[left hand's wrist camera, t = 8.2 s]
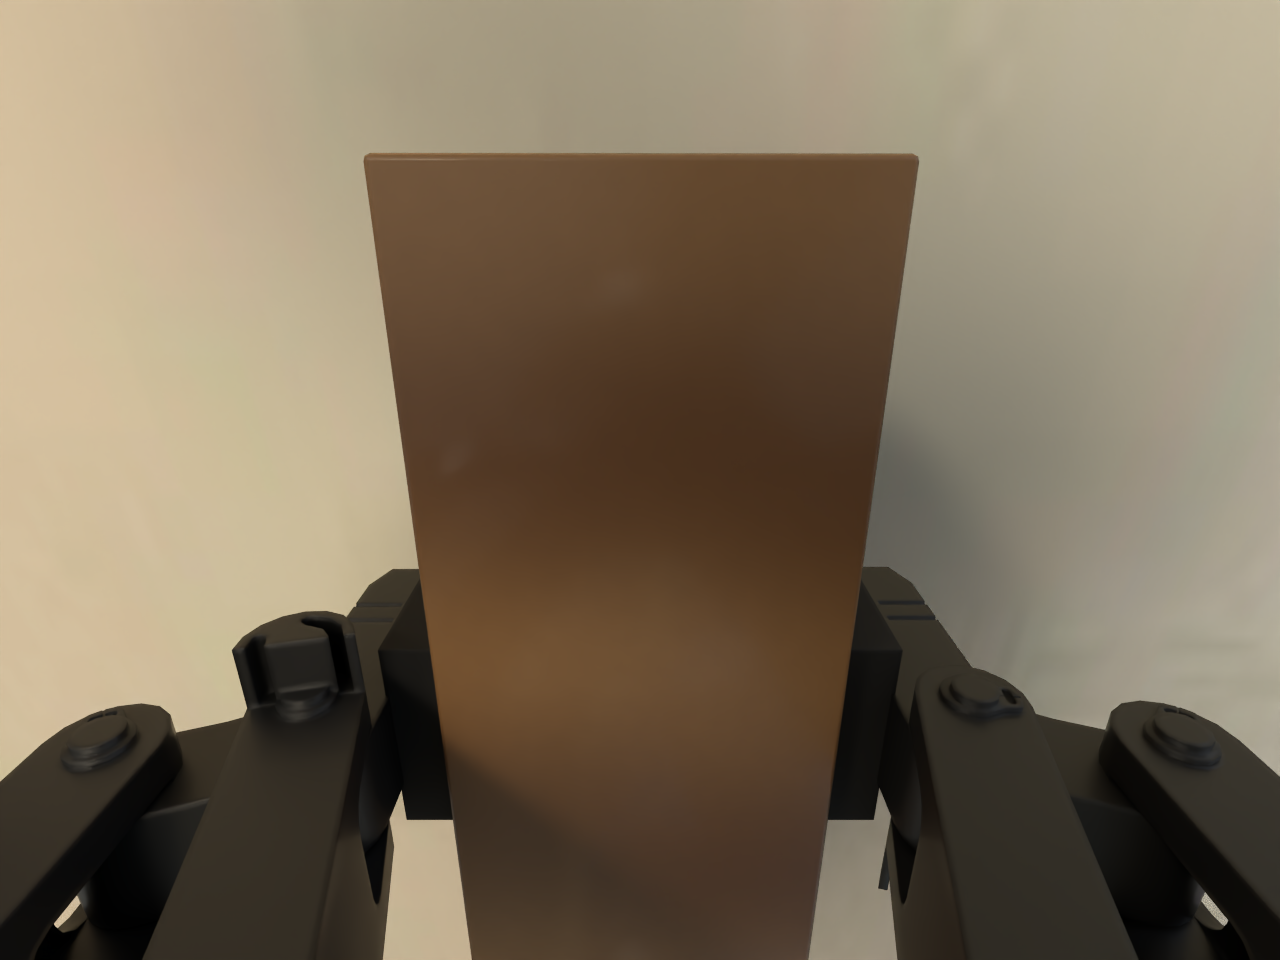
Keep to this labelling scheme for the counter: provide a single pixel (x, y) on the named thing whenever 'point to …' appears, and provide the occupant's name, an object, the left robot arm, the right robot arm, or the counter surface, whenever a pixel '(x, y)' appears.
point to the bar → (640, 523)
